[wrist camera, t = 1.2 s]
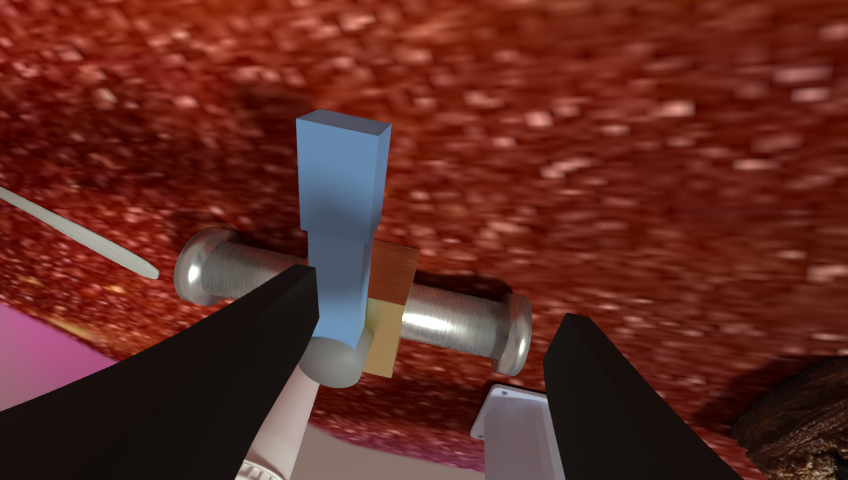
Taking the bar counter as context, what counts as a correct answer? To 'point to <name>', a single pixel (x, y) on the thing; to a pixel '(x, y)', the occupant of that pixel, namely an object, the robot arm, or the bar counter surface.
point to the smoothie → (281, 432)
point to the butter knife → (84, 236)
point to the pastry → (800, 426)
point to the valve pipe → (369, 300)
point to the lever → (340, 234)
